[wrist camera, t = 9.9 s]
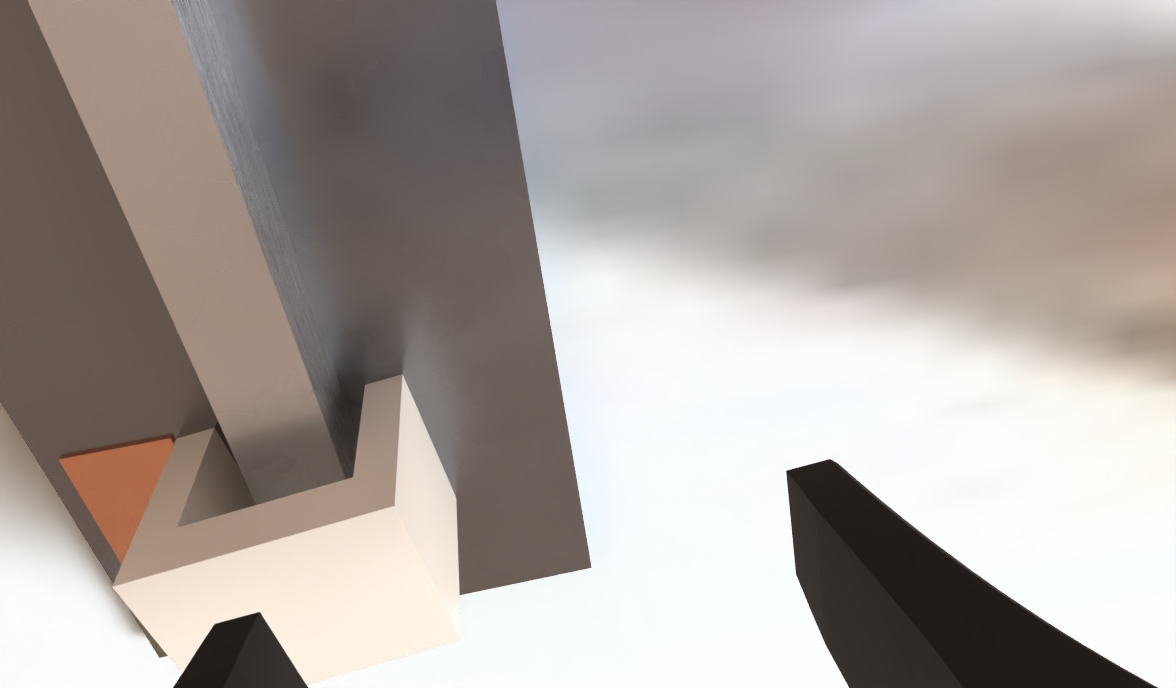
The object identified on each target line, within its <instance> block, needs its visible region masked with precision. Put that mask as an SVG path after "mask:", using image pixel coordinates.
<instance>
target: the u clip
mask: <svg viewBox="0 0 1176 688" xmlns="http://www.w3.org/2000/svg"><path fill="white" fill-rule="evenodd" d="M112 588H113V589H114V590H115V591H116V593H117V594H118V595H119V596H120V598H121V599H122V600H123V601H124V602H125V604H126V605H127V606H128V607H129V609H130V610H131V611H132V612H133V614H134V615H135V616H136V617H137V618H138V620H139V621H140V622H141V623H142V625H143V626H144V627H145V628H146V629H147V631H148V632H149V633H150V634H151V636H152V637H153V638H154V639H155V641H156V642H157V643H158V644H159V645H160V647H161V648H162V649H163V650H164V652H165V653H166V654H167V655H168V657H169V658H170V659H171V660H172V661H173V663H174V664H175V665H176V666H177V668H178V669H179V670H180V671H181V673H183V672H184V670H185V669H186V667H187V665H188V664H189V662H190V661H191V659H192V658H193V656H194V654H195V653H196V651H197V650H198V648H199V647H200V645H201V644H202V642H203V641H204V639H205V638H206V636H207V635H208V633H209V632H210V630H211V629H212V627H213V626H214V624H216V623H220V622H223V621H227V620H231V619H235V618H238V617H242V616H246V615H250V614H253V613H257V612H260V613H261V614H262V616H263V618H264V619H265V621H266V622H267V624H268V625H269V627H270V629H271V630H272V632H273V633H274V635H275V636H276V638H277V640H278V641H279V643H280V644H281V646H282V647H283V649H284V650H285V652H286V654H287V655H288V657H289V658H290V660H291V661H292V663H293V665H294V666H295V668H296V669H297V671H298V672H299V674H300V676H301V677H302V679H303V680H304V682H305V683H306V685H308V684H312V683H315V682H319V681H322V680H326V679H329V678H332V677H336V676H339V675H343V674H346V673H350V672H353V671H357V670H360V669H364V668H367V667H370V666H374V665H377V664H381V663H384V662H388V661H391V660H395V659H398V658H401V657H405V656H408V655H412V654H415V653H419V652H422V651H426V650H429V649H433V648H436V647H439V646H443V645H446V644H450V643H453V642H457V641H460V640H461V625H460V595H459V565H458V535H457V505H456V496H455V494H454V491H453V489H452V487H451V484H450V482H449V480H448V478H447V475H446V473H445V471H444V468H443V466H442V464H441V461H440V459H439V457H438V455H437V452H436V450H435V448H434V445H433V443H432V441H431V438H430V436H429V434H428V432H427V429H426V427H425V425H424V422H423V420H422V418H421V415H420V413H419V411H418V409H417V406H416V404H415V402H414V399H413V397H412V395H411V392H410V390H409V388H408V386H407V383H406V381H405V379H404V376H403V374H401V375H398V376H394V377H391V378H387V379H384V380H380V381H377V382H373V383H370V384H366V385H365V389H364V396H363V404H362V412H361V420H360V427H359V435H358V443H357V451H356V459H355V466H354V474H353V477H352V478H349V479H345V480H342V481H338V482H335V483H331V484H328V485H324V486H321V487H317V488H314V489H310V490H307V491H304V492H300V493H297V494H293V495H290V496H286V497H283V498H279V499H276V500H272V501H269V502H265V503H262V504H258V505H256V504H255V501H254V499H253V497H252V495H251V492H250V490H249V488H248V486H247V484H246V481H245V479H244V477H243V475H242V473H241V470H240V469H239V467H238V465H237V464H236V462H235V461H234V459H233V457H232V456H231V454H230V452H229V451H228V449H227V448H226V446H225V444H224V443H223V441H222V439H221V438H220V436H219V435H218V433H217V431H216V430H215V428H212V429H208V430H205V431H201V432H198V433H194V434H191V435H187V436H184V437H180V438H177V439H176V441H175V443H174V446H173V448H172V450H171V452H170V455H169V457H168V459H167V462H166V464H165V466H164V469H163V471H162V473H161V475H160V478H159V480H158V482H157V485H156V487H155V489H154V492H153V494H152V496H151V498H150V501H149V503H148V505H147V508H146V510H145V512H144V515H143V517H142V519H141V521H140V524H139V526H138V528H137V531H136V533H135V535H134V537H133V540H132V542H131V544H130V547H129V549H128V551H127V554H126V556H125V558H124V560H123V563H122V565H121V567H120V570H119V572H118V574H117V577H116V579H115V581H114V583H113V586H112Z"/></svg>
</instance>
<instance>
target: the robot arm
mask: <svg viewBox="0 0 1176 688" xmlns="http://www.w3.org/2000/svg"><path fill="white" fill-rule="evenodd" d="M786 473H787V483H788V494H789V504H790V514H791V525H792V535H793V546H794V556H795V566H796V575H797V577H798V580H799V582H800V585H801V587H802V589H803V592H804V594H805V597H806V599H807V602H808V604H809V607H810V609H811V611H812V614H813V616H814V618H815V621H816V623H817V625H818V628H819V630H820V632H821V635H822V637H823V639H824V642H825V644H826V646H827V648H828V650H829V651H830V653H831V655H832V657H833V659H834V661H835V662H836V664H837V666H838V668H839V670H840V672H841V673H842V675H843V677H844V679H845V681H846V682H847V684H848V686H849V688H1157V687H1156V686H1154V685H1152V684H1150V683H1148V682H1147V681H1145V680H1143V679H1141V678H1139V677H1137V676H1136V675H1134V674H1132V673H1130V672H1128V671H1127V670H1125V669H1123V668H1121V667H1120V666H1118V665H1116V664H1115V663H1113V662H1111V661H1110V660H1108V659H1106V658H1104V657H1103V656H1101V655H1099V654H1098V653H1096V652H1094V651H1093V650H1091V649H1089V648H1088V647H1086V646H1084V645H1082V644H1081V643H1079V642H1078V641H1076V640H1074V639H1073V638H1071V637H1070V636H1068V635H1066V634H1065V633H1063V632H1061V631H1060V630H1058V629H1057V628H1055V627H1054V626H1052V625H1051V624H1049V623H1047V622H1046V621H1044V620H1043V619H1041V618H1040V617H1038V616H1037V615H1035V614H1034V613H1032V612H1031V611H1029V610H1028V609H1026V608H1025V607H1023V606H1022V605H1020V604H1019V603H1017V602H1016V601H1014V600H1013V599H1011V598H1010V597H1008V596H1007V595H1005V594H1004V593H1002V592H1001V591H999V590H998V589H997V588H995V587H994V586H992V585H991V584H989V583H988V582H987V581H985V580H984V579H982V578H981V577H980V576H978V575H977V574H975V573H974V572H973V571H971V570H970V569H969V568H967V567H966V566H965V565H963V564H962V563H961V562H959V561H958V560H956V559H955V558H954V557H952V556H951V555H950V554H948V553H947V552H946V551H944V550H943V549H942V548H940V547H939V546H938V545H936V544H935V543H934V542H932V541H931V540H930V539H928V538H927V537H926V536H925V535H923V534H922V533H921V532H919V531H918V530H917V529H916V528H914V527H913V526H912V525H911V524H909V523H908V522H907V521H906V520H904V519H903V518H902V517H901V516H899V515H898V514H897V513H896V512H894V511H893V510H892V509H891V508H890V507H888V506H887V505H886V504H885V503H883V502H882V501H881V500H880V499H879V498H877V497H876V496H875V495H874V494H873V493H871V492H870V491H869V490H868V489H867V488H866V487H864V486H863V485H862V484H861V483H860V482H859V481H857V480H856V479H855V478H854V477H853V476H852V475H850V474H849V473H848V472H847V471H846V470H845V469H844V468H842V467H841V466H840V465H839V464H838V463H836V462H834V461H832V460H831V459H829V460H825V461H821V462H818V463H814V464H810V465H806V466H803V467H799V468H795V469H791V470H788V471H786ZM173 688H308V687H307V685H306V683H305V682H304V680H303V679H302V677H301V676H300V674H299V672H298V671H297V669H296V668H295V666H294V665H293V663H292V661H291V660H290V658H289V657H288V655H287V654H286V652H285V650H284V649H283V647H282V646H281V644H280V643H279V641H278V640H277V638H276V636H275V635H274V633H273V632H272V630H271V629H270V627H269V625H268V624H267V622H266V621H265V619H264V618H263V616H262V614H261V613H260V612H257V613H253V614H250V615H246V616H242V617H238V618H235V619H231V620H227V621H223V622H220V623H216V624H214V626H213V627H212V629H211V630H210V632H209V633H208V635H207V636H206V638H205V639H204V641H203V642H202V644H201V645H200V647H199V648H198V650H197V651H196V653H195V654H194V656H193V658H192V659H191V661H190V662H189V664H188V665H187V667H186V669H185V670H184V672H183V673H182V675H181V676H180V678H179V680H178V681H177V683H176V684H175V686H174V687H173Z"/></svg>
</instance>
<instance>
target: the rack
mask: <svg viewBox="0 0 1176 688" xmlns="http://www.w3.org/2000/svg"><path fill="white" fill-rule="evenodd" d="M401 374H403V376H404V379H405V381H406V383H407V386H408V388H409V390H410V392H411V395H412V397H413V399H414V402H415V404H416V406H417V409H418V411H419V413H420V415H421V418H422V420H423V422H424V425H425V427H426V429H427V432H428V434H429V436H430V438H431V441H432V443H433V445H434V448H435V450H436V452H437V455H438V457H439V459H440V461H441V464H442V466H443V468H444V471H445V473H446V475H447V478H448V480H449V482H450V484H451V487H452V489H453V491H454V494H455V496H456V505H457V535H458V565H459V595H462V594H467V593H472V592H477V591H482V590H486V589H491V588H496V587H501V586H506V585H510V584H515V583H520V582H525V581H530V580H534V579H539V578H544V577H549V576H554V575H558V574H563V573H568V572H573V571H578V570H582V569H587V568H591V562H590V556H589V550H588V545H587V539H586V533H585V527H584V521H583V515H582V509H581V503H580V497H579V491H578V485H577V479H576V474H575V468H574V462H573V456H572V450H571V444H570V438H569V432H568V426H567V420H566V414H565V409H564V403H563V397H562V391H561V385H560V379H559V373H558V367H557V361H556V355H555V349H554V343H553V338H552V332H551V326H550V320H549V314H548V308H547V302H546V296H545V290H544V284H543V278H542V272H541V267H540V261H539V255H538V249H537V243H536V237H535V231H534V225H533V219H532V213H531V207H530V202H529V196H528V190H527V184H526V178H525V172H524V166H523V160H522V154H521V148H520V142H519V136H518V131H517V125H516V119H515V113H514V107H513V101H512V95H511V89H510V83H509V77H508V71H507V65H506V60H505V54H504V48H503V42H502V36H501V30H500V24H499V18H498V12H497V6H496V0H0V401H1V403H2V405H3V406H4V408H5V409H6V411H7V413H8V414H9V416H10V418H11V419H12V421H13V422H14V424H15V426H16V427H17V429H18V430H19V432H20V434H21V435H22V437H23V439H24V440H25V442H26V443H27V445H28V447H29V448H30V450H31V451H32V453H33V455H34V456H35V458H36V459H37V461H38V463H39V464H40V466H41V468H42V469H43V471H44V472H45V474H46V476H47V477H48V479H49V480H50V482H51V484H52V485H53V487H54V488H55V490H56V492H57V493H58V495H59V497H60V498H61V500H62V501H63V503H64V505H65V506H66V508H67V509H68V511H69V513H70V514H71V516H72V517H73V519H74V521H75V522H76V524H77V526H78V527H79V529H80V530H81V532H82V534H83V535H84V537H85V538H86V540H87V542H88V543H89V545H90V546H91V548H92V550H93V551H94V553H95V555H96V556H97V558H98V559H99V561H100V563H101V564H102V566H103V567H104V569H105V571H106V572H107V574H108V576H109V577H110V579H111V580H112V582H113V583H114V581H115V579H116V577H117V574H118V572H119V570H120V567H121V565H122V563H123V560H124V558H125V556H126V554H127V551H128V549H129V547H130V544H131V542H132V540H133V537H134V535H135V533H136V531H137V528H138V526H139V524H140V521H141V519H142V517H143V515H144V512H145V510H146V508H147V505H148V503H149V501H150V498H151V496H152V494H153V492H154V489H155V487H156V485H157V482H158V480H159V478H160V475H161V473H162V471H163V469H164V466H165V464H166V462H167V459H168V457H169V455H170V452H171V450H172V448H173V446H174V443H175V441H176V439H177V438H180V437H184V436H187V435H191V434H194V433H198V432H201V431H205V430H208V429H212V428H215V430H216V431H217V433H218V435H219V436H220V438H221V439H222V441H223V443H224V444H225V446H226V448H227V449H228V451H229V452H230V454H231V456H232V457H233V459H234V461H235V462H236V464H237V465H238V467H239V469H240V470H241V473H242V475H243V477H244V479H245V481H246V484H247V486H248V488H249V490H250V492H251V495H252V497H253V499H254V501H255V504H256V505H258V504H262V503H265V502H269V501H272V500H276V499H279V498H283V497H286V496H290V495H293V494H297V493H300V492H304V491H307V490H310V489H314V488H317V487H321V486H324V485H328V484H331V483H335V482H338V481H342V480H345V479H349V478H352V477H353V474H354V466H355V459H356V451H357V443H358V435H359V427H360V420H361V412H362V404H363V396H364V389H365V385H366V384H370V383H373V382H377V381H380V380H384V379H387V378H391V377H394V376H398V375H401ZM128 608H129V607H128ZM130 611H131V610H130ZM131 613H132V614H133V612H132V611H131ZM133 616H134V617H135V619H136V621H137V622H138V624H139V625H140V627H141V629H142V630H143V632H144V634H145V635H146V637H147V638H148V640H149V642H150V643H151V645H152V646H153V648H154V650H155V651H156V653H157V654H158V656H159V658H160V657H165V656H168V655H167V654H166V653H165V652H164V650H163V649H162V648H161V647H160V645H159V644H158V643H157V642H156V641H155V639H154V638H153V637H152V636H151V634H150V633H149V632H148V631H147V629H146V628H145V627H144V626H143V625H142V623H141V622H140V621H139V620H138V618H137V617H136V616H135V615H134V614H133Z"/></svg>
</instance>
